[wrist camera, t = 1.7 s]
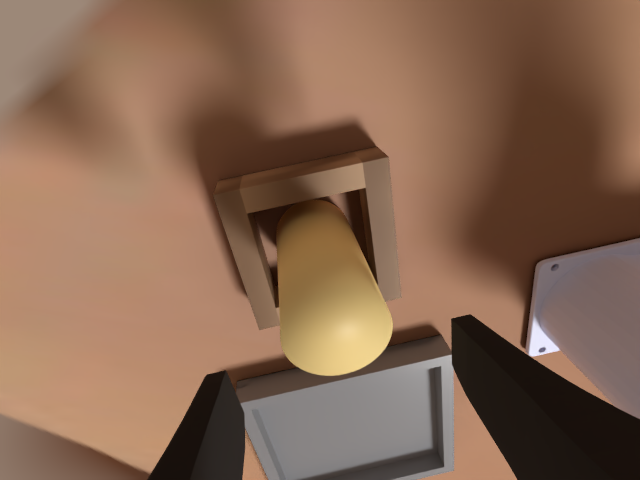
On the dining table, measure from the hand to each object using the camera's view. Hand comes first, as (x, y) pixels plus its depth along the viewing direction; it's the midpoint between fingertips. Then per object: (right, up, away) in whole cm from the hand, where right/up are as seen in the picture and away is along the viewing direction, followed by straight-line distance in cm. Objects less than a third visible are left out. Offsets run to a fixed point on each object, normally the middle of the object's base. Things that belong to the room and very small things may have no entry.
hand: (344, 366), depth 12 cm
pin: (-1, +4, +8) cm, 10 cm away
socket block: (-1, +4, +8) cm, 10 cm away
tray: (+2, -9, +16) cm, 19 cm away
